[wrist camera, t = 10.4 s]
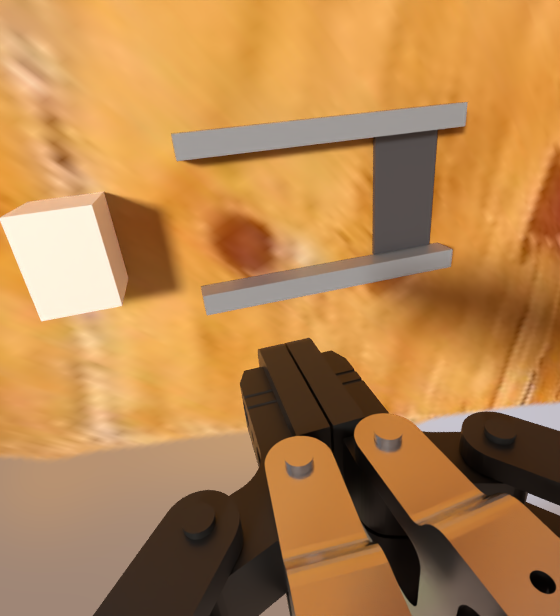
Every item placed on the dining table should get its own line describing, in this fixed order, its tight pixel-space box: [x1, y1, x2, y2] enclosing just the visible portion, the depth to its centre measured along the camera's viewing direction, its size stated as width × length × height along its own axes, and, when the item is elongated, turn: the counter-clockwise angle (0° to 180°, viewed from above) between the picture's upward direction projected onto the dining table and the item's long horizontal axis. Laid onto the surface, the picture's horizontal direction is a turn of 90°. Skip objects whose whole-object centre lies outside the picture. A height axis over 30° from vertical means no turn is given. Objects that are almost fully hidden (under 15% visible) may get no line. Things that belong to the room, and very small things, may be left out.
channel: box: [171, 102, 468, 315], centre depth 29 cm, size 20×12×2 cm, turn 95°
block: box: [0, 192, 128, 321], centre depth 24 cm, size 4×6×5 cm
